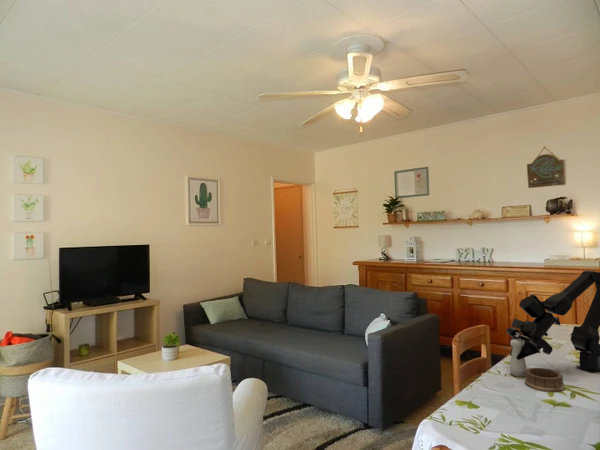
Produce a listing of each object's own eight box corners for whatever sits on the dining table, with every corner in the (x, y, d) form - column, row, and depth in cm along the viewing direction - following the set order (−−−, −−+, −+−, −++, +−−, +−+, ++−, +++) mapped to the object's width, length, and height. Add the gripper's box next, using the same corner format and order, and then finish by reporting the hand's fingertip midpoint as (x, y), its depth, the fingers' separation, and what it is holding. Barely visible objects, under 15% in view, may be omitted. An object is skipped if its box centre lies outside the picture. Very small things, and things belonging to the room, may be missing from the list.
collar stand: (542, 377, 144) (542, 365, 144) (573, 389, 132) (572, 376, 133) (517, 381, 140) (516, 370, 140) (545, 394, 129) (545, 381, 129)
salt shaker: (529, 378, 144) (528, 342, 144) (512, 377, 145) (510, 341, 145) (524, 372, 149) (522, 337, 150) (507, 372, 150) (506, 337, 151)
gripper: (509, 306, 157) (484, 336, 156) (543, 316, 139) (515, 350, 137) (528, 325, 158) (504, 355, 156) (564, 337, 139) (537, 371, 138)
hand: (514, 357), depth 147 cm, fingers closed on salt shaker, 3 cm apart
